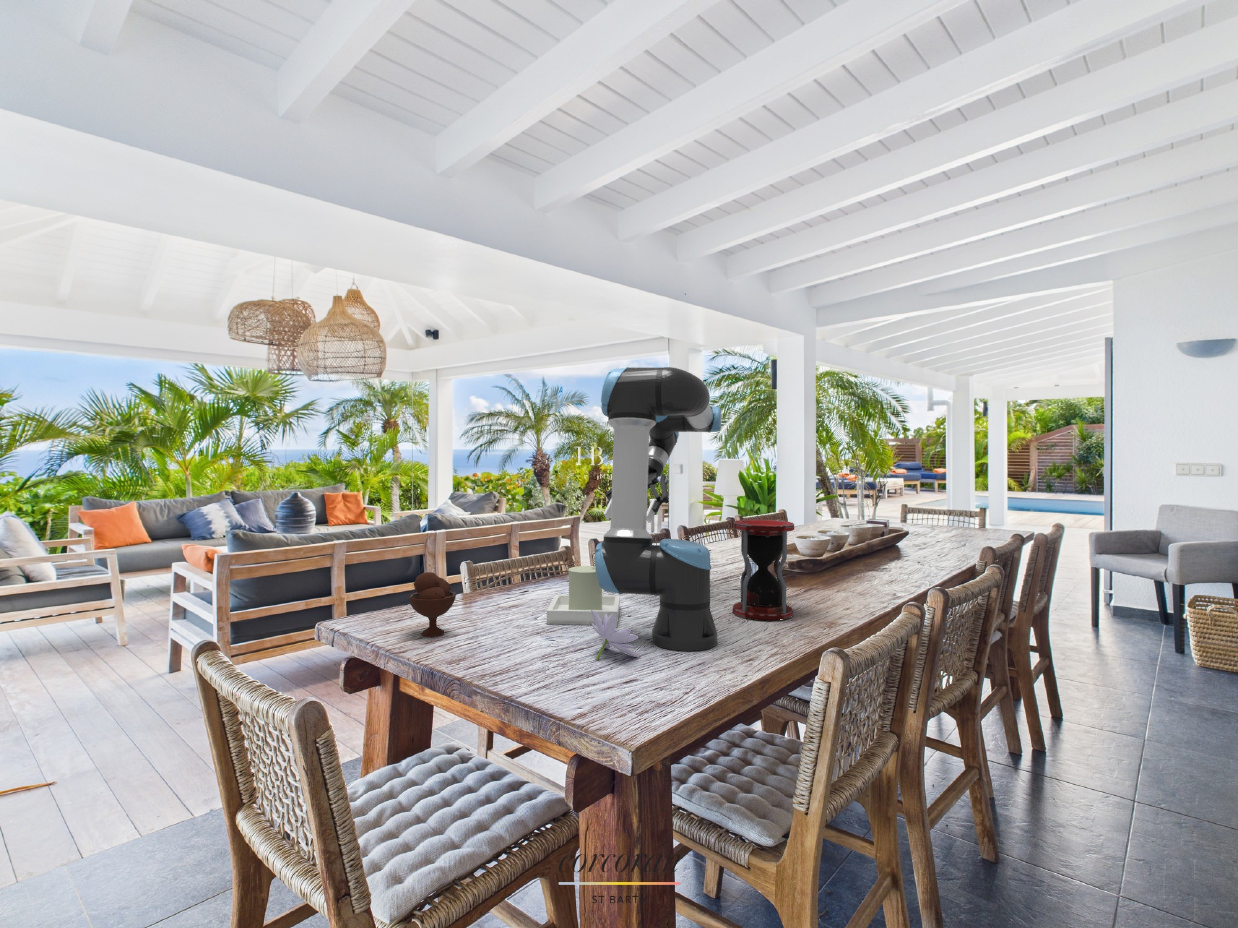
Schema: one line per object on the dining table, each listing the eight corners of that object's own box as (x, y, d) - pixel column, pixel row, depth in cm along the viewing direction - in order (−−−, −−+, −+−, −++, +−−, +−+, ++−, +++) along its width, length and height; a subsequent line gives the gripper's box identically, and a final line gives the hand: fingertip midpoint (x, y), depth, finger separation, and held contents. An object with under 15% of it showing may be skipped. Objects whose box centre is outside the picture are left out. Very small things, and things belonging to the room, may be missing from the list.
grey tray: (617, 625, 168) (617, 611, 168) (546, 624, 169) (546, 610, 169) (619, 607, 186) (619, 595, 186) (555, 607, 187) (555, 594, 187)
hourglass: (720, 612, 183) (721, 521, 182) (759, 603, 193) (760, 517, 192) (766, 624, 170) (767, 527, 169) (805, 615, 180) (806, 523, 179)
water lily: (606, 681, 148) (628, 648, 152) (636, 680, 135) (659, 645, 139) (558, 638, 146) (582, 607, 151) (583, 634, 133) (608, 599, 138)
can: (601, 616, 173) (602, 570, 173) (566, 616, 173) (566, 570, 173) (603, 607, 182) (603, 564, 182) (569, 607, 182) (569, 563, 182)
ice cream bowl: (444, 641, 153) (444, 577, 153) (400, 638, 156) (399, 574, 155) (464, 629, 164) (464, 568, 163) (422, 626, 166) (422, 566, 166)
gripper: (693, 474, 197) (670, 529, 184) (621, 472, 210) (594, 524, 197) (686, 456, 193) (661, 511, 180) (612, 455, 205) (584, 507, 193)
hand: (626, 518), depth 189 cm, fingers open, 13 cm apart
